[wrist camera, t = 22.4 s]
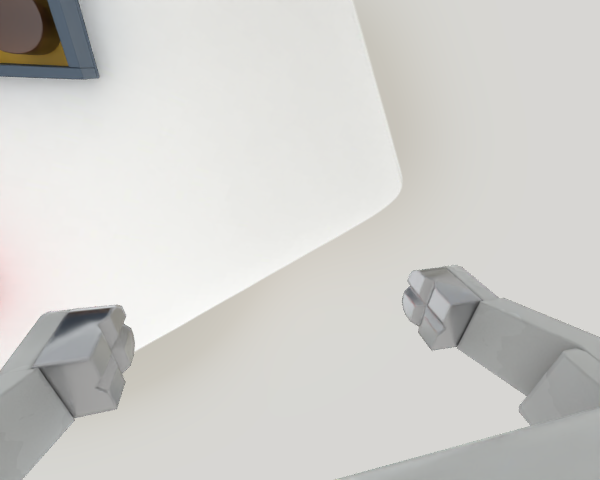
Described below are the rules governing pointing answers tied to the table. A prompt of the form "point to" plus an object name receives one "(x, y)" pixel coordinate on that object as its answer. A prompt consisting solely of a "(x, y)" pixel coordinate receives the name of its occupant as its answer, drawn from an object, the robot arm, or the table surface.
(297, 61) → the table surface
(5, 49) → the cylinder
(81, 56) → the grid
